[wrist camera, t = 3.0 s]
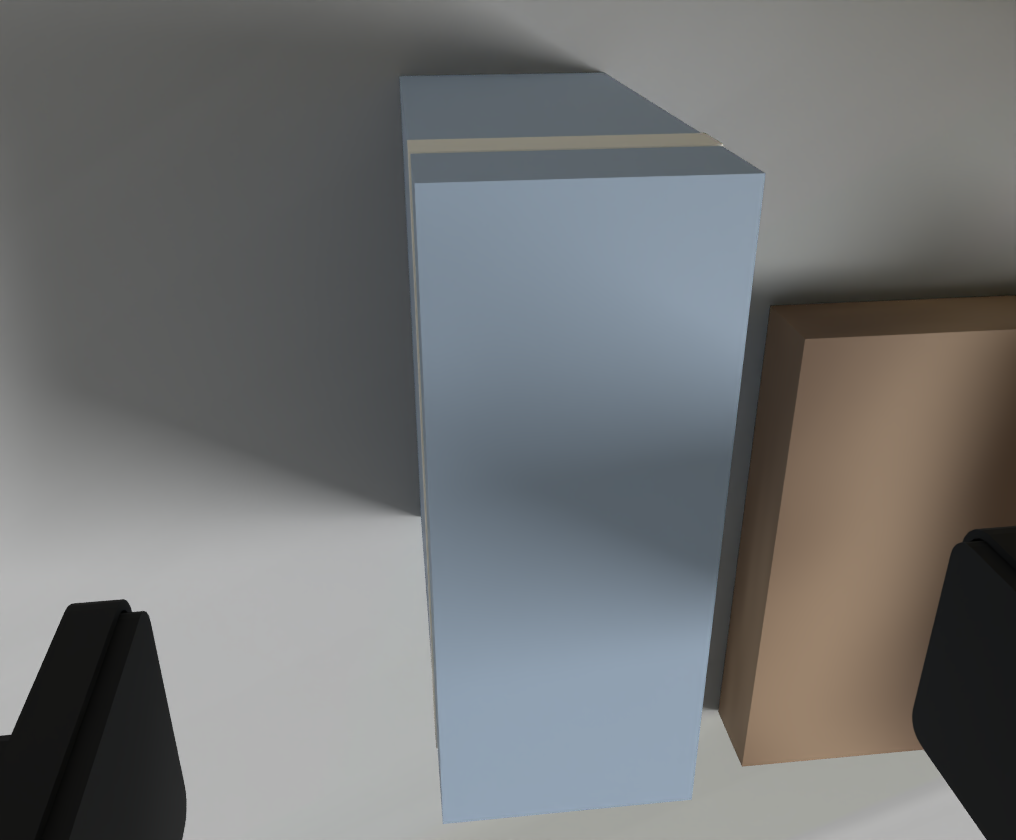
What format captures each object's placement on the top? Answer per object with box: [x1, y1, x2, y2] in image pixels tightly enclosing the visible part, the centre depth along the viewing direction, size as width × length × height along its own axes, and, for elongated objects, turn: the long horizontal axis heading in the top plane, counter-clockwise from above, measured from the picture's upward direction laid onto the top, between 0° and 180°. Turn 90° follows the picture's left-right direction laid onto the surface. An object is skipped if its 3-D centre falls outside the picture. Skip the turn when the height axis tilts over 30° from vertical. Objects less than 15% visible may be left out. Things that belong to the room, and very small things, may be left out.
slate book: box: [399, 73, 765, 824], centre depth 17 cm, size 4×10×9 cm, turn 0°
